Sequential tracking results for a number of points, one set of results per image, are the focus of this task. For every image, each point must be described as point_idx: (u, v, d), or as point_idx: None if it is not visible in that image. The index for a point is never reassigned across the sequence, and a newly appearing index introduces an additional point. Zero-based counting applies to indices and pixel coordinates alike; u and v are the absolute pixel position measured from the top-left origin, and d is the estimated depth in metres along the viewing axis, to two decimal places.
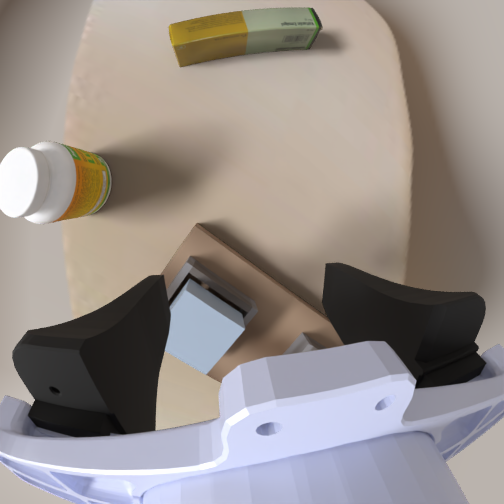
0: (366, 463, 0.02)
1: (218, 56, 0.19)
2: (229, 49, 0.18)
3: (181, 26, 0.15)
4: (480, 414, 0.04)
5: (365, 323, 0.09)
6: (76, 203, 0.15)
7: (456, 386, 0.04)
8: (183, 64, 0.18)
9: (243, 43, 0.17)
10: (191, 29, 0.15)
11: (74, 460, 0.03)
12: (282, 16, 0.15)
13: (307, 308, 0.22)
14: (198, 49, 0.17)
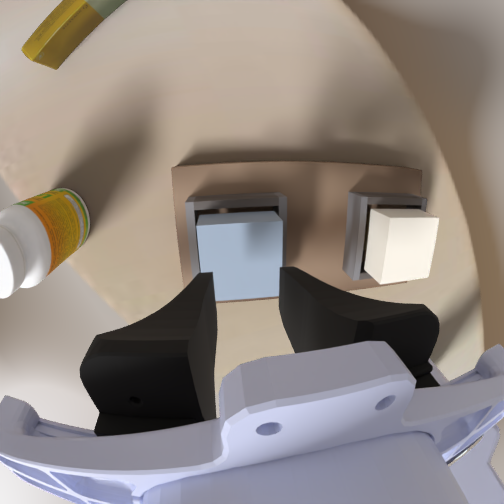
0: (366, 463, 0.02)
1: (81, 37, 0.13)
2: (85, 25, 0.12)
3: (30, 41, 0.10)
4: (480, 414, 0.04)
5: (308, 332, 0.09)
6: (56, 236, 0.14)
7: (456, 386, 0.04)
8: (57, 65, 0.14)
9: (92, 12, 0.11)
10: (39, 37, 0.10)
11: (74, 460, 0.03)
12: None
13: (335, 164, 0.18)
14: (57, 46, 0.12)
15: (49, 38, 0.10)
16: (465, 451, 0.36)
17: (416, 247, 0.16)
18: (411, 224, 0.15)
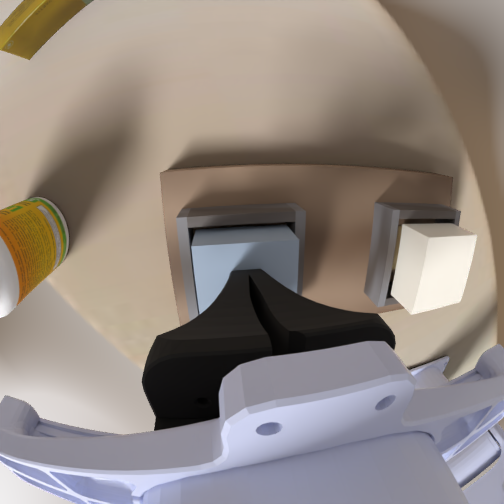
0: (366, 463, 0.02)
1: (59, 24, 0.10)
2: (62, 11, 0.09)
3: (3, 27, 0.06)
4: (480, 414, 0.04)
5: None
6: (24, 259, 0.10)
7: (456, 386, 0.04)
8: (29, 55, 0.10)
9: None
10: (11, 22, 0.06)
11: (74, 460, 0.03)
12: None
13: (360, 169, 0.14)
14: (29, 33, 0.08)
15: (20, 25, 0.07)
16: None
17: (452, 270, 0.12)
18: (449, 244, 0.12)
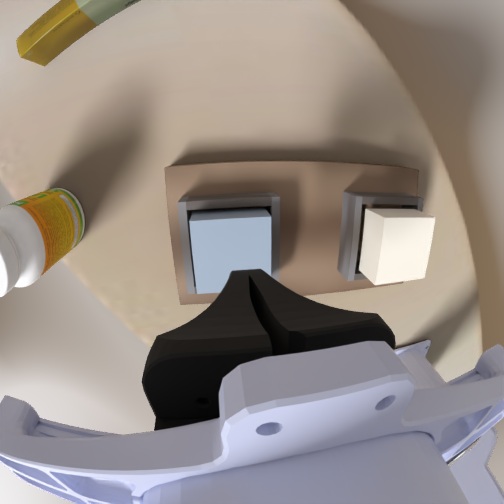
0: (366, 463, 0.02)
1: (72, 40, 0.13)
2: (76, 29, 0.12)
3: (25, 35, 0.09)
4: (480, 414, 0.04)
5: None
6: (50, 236, 0.14)
7: (455, 386, 0.04)
8: (45, 63, 0.13)
9: (85, 18, 0.11)
10: (32, 33, 0.10)
11: (74, 460, 0.03)
12: None
13: (329, 164, 0.18)
14: (46, 46, 0.11)
15: (39, 38, 0.10)
16: (463, 452, 0.36)
17: (411, 247, 0.16)
18: (406, 224, 0.15)
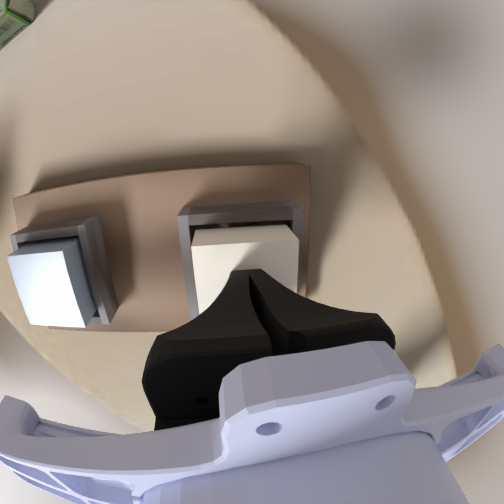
0: (366, 463, 0.02)
1: None
2: None
3: None
4: (480, 414, 0.04)
5: None
6: None
7: (456, 386, 0.04)
8: None
9: None
10: None
11: (74, 460, 0.03)
12: None
13: (160, 174, 0.14)
14: None
15: None
16: None
17: None
18: (235, 254, 0.11)
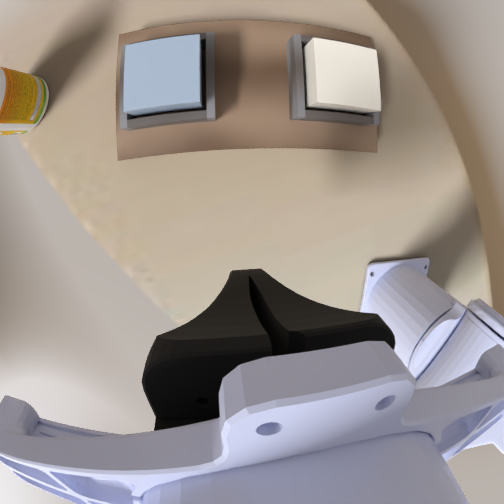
0: (366, 463, 0.02)
1: None
2: None
3: None
4: (480, 414, 0.04)
5: None
6: (13, 88, 0.10)
7: (456, 386, 0.04)
8: None
9: None
10: None
11: (74, 460, 0.03)
12: None
13: (270, 22, 0.14)
14: None
15: None
16: None
17: (354, 71, 0.13)
18: (341, 47, 0.13)
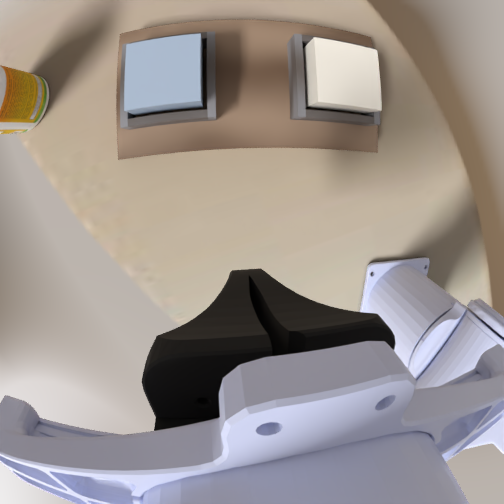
0: (366, 463, 0.02)
1: None
2: None
3: None
4: (480, 414, 0.04)
5: None
6: (13, 87, 0.10)
7: (456, 386, 0.04)
8: None
9: None
10: None
11: (74, 460, 0.03)
12: None
13: (271, 21, 0.14)
14: None
15: None
16: None
17: (355, 71, 0.13)
18: (342, 47, 0.13)
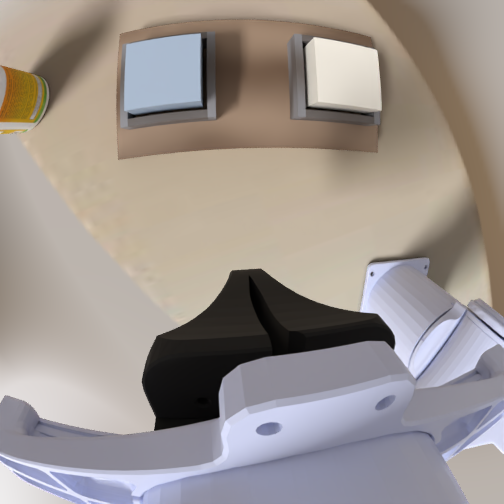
0: (366, 463, 0.02)
1: None
2: None
3: None
4: (480, 414, 0.04)
5: None
6: (13, 87, 0.10)
7: (456, 386, 0.04)
8: None
9: None
10: None
11: (74, 460, 0.03)
12: None
13: (271, 21, 0.14)
14: None
15: None
16: None
17: (355, 71, 0.13)
18: (342, 47, 0.13)
